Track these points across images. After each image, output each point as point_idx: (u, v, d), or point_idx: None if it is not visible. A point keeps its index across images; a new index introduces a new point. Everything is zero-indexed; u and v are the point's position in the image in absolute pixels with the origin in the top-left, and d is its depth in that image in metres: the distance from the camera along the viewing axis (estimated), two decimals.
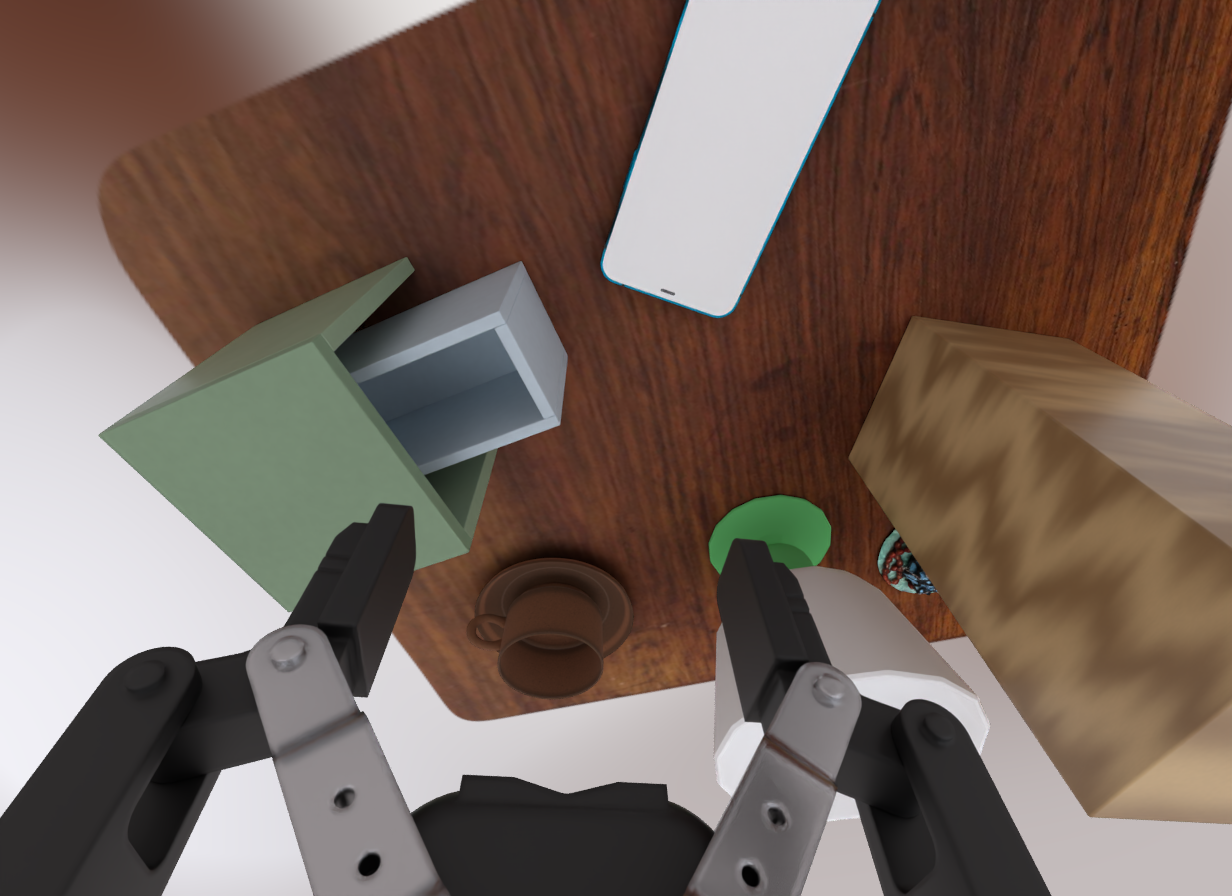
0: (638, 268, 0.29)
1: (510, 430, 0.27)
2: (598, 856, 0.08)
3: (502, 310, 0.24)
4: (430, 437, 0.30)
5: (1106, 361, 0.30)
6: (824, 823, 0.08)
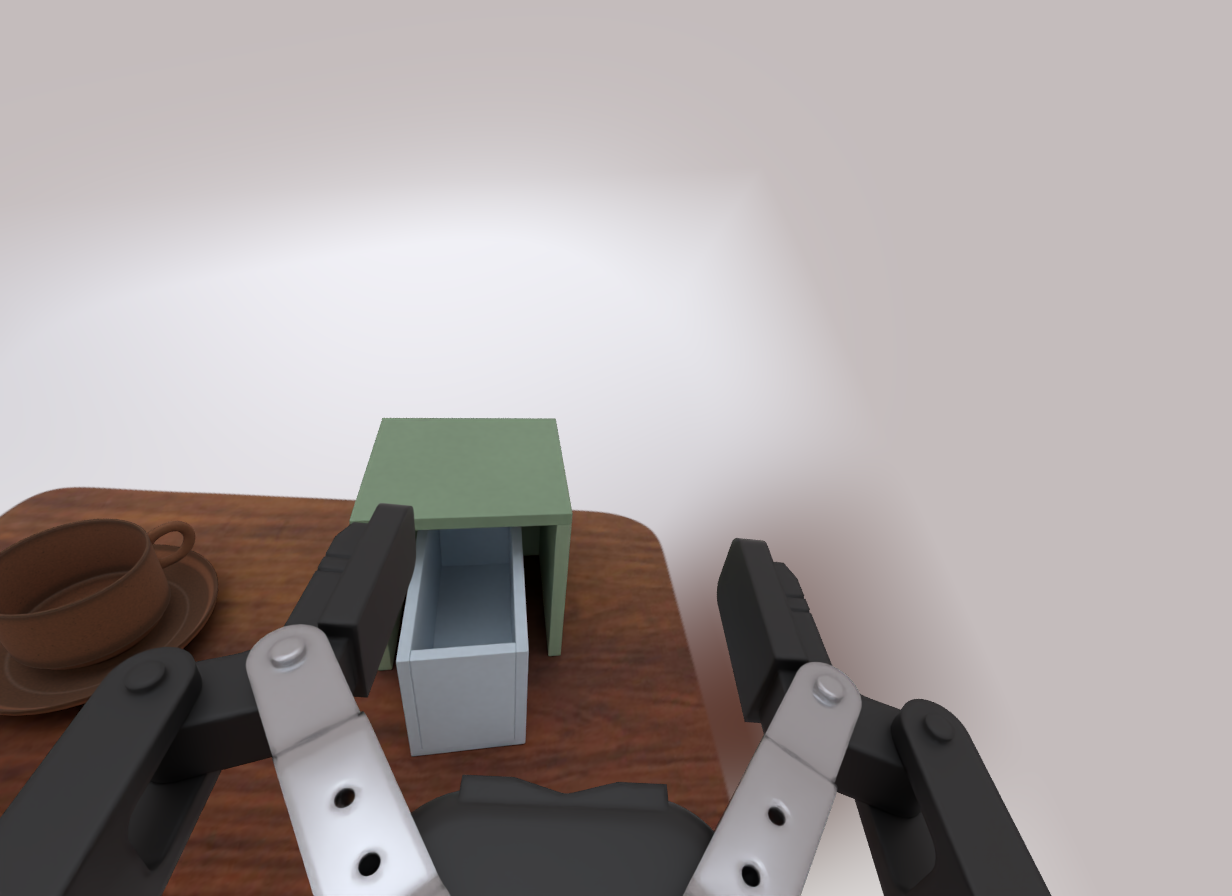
0: None
1: (415, 621, 0.28)
2: (598, 856, 0.08)
3: (525, 656, 0.27)
4: (429, 581, 0.33)
5: None
6: (824, 823, 0.08)
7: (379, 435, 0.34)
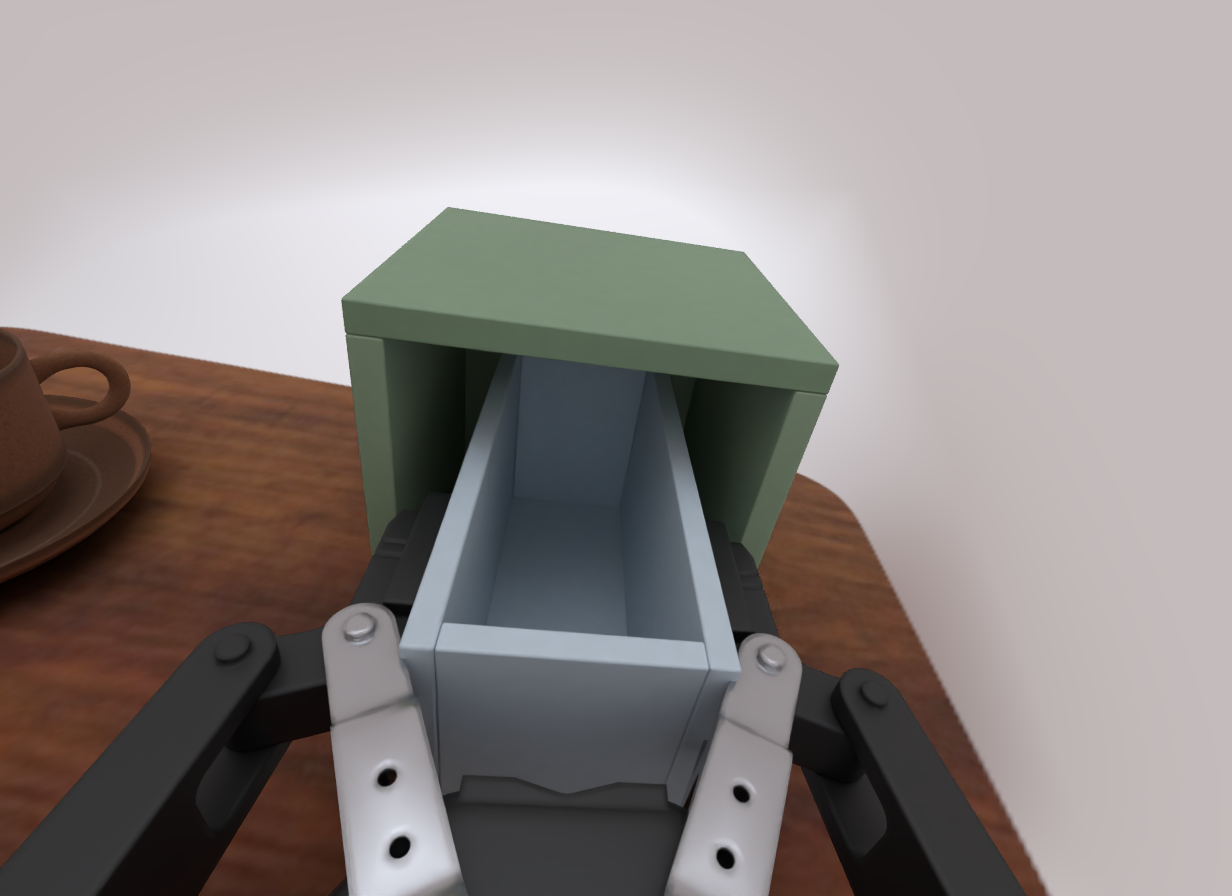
0: None
1: (461, 557, 0.11)
2: (598, 856, 0.08)
3: None
4: (495, 498, 0.17)
5: None
6: (784, 790, 0.08)
7: (437, 219, 0.18)
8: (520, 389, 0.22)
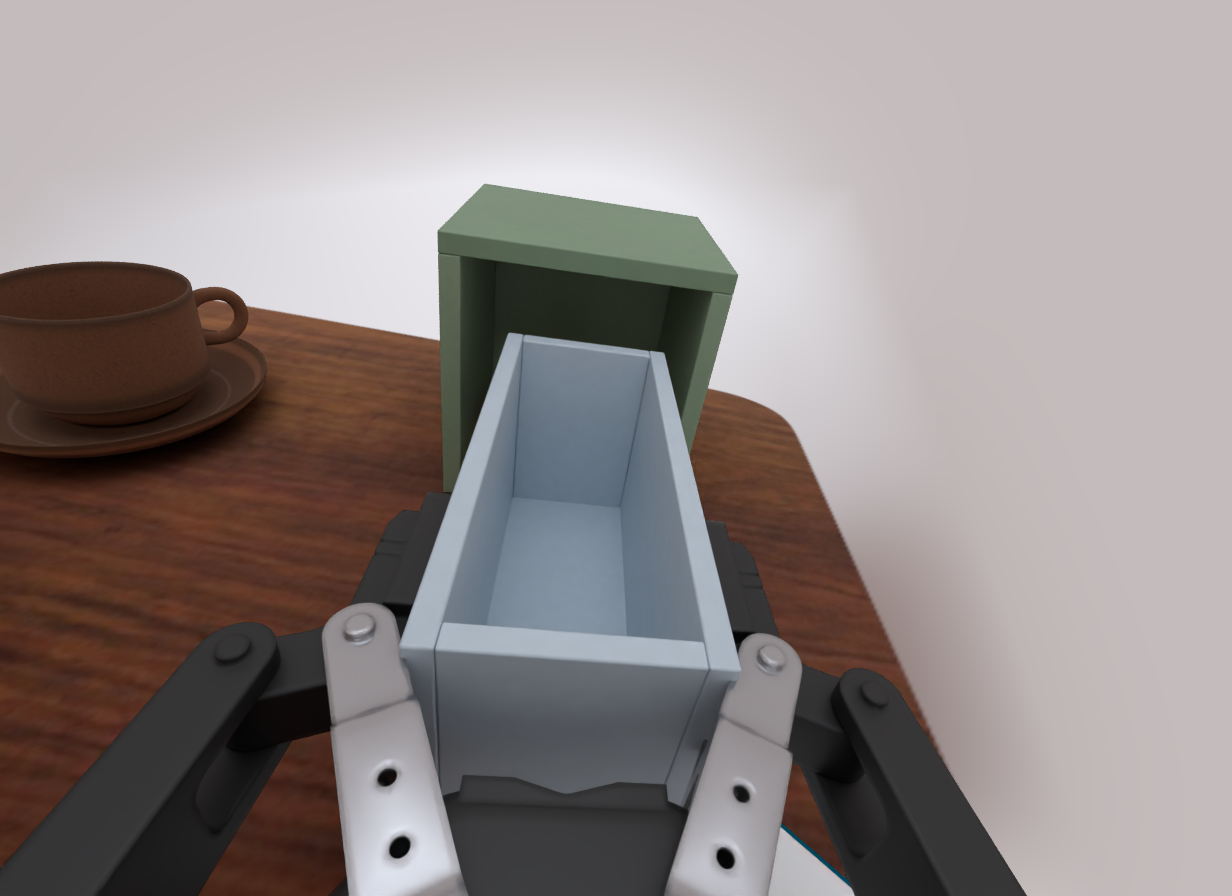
0: None
1: (462, 556, 0.11)
2: (598, 856, 0.08)
3: None
4: (495, 498, 0.17)
5: None
6: (785, 790, 0.08)
7: (480, 191, 0.26)
8: (520, 389, 0.22)
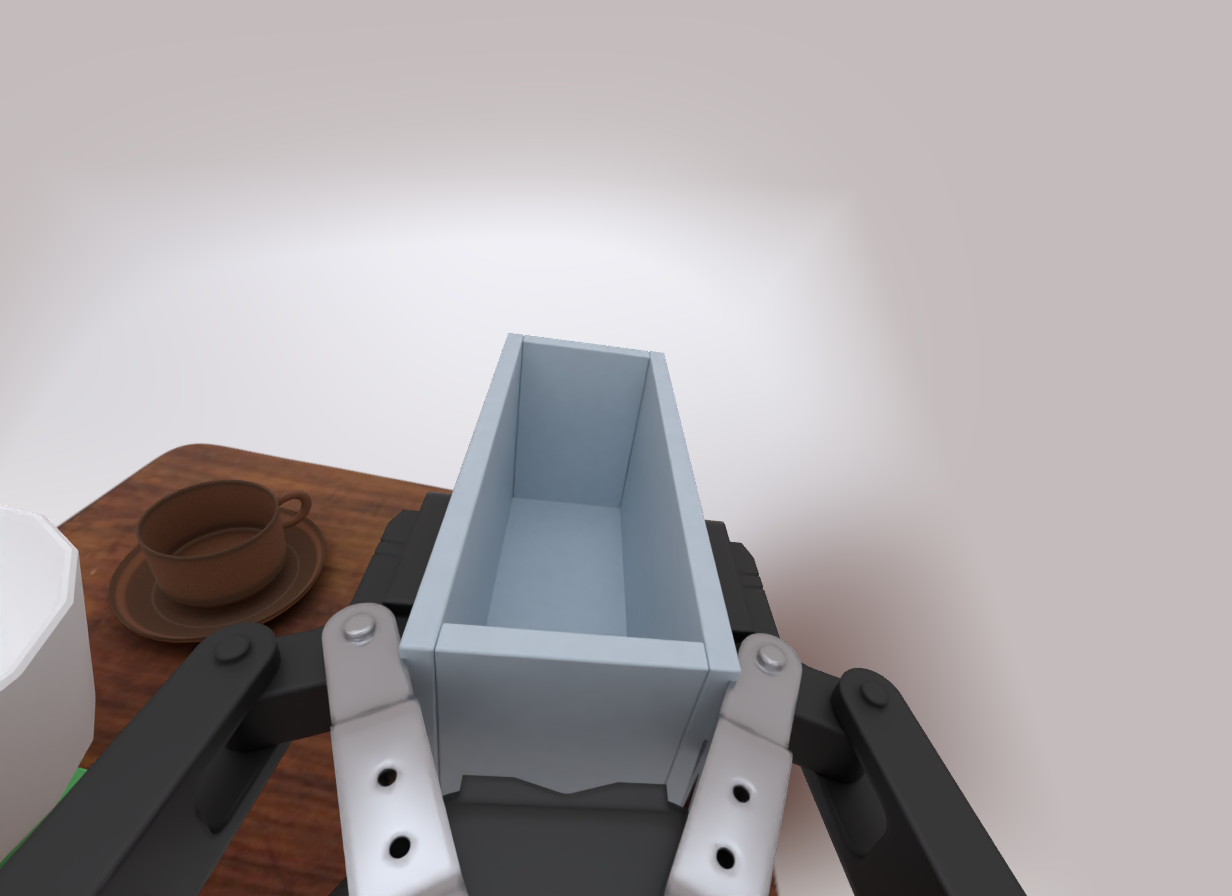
0: None
1: (461, 557, 0.11)
2: (598, 856, 0.08)
3: None
4: (495, 498, 0.17)
5: None
6: (784, 790, 0.08)
7: None
8: (520, 389, 0.22)
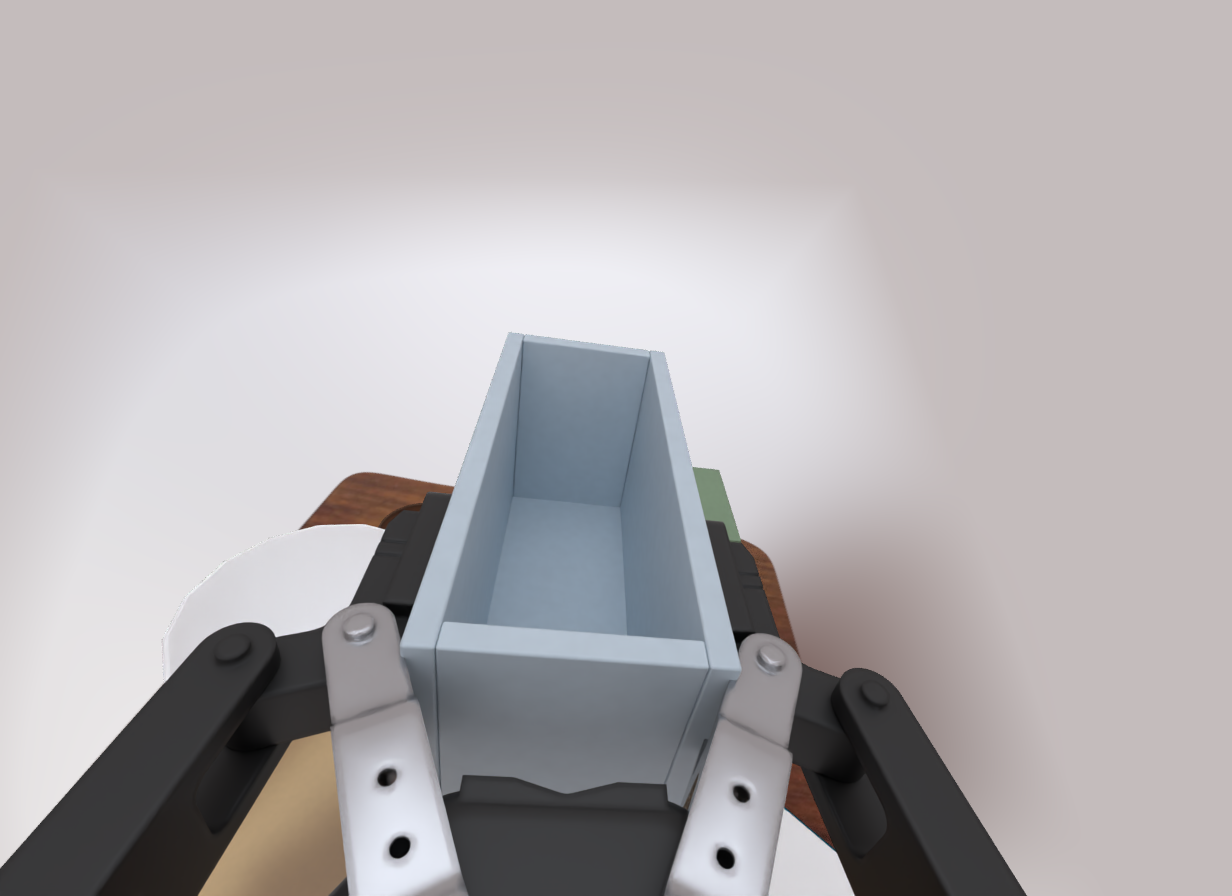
0: None
1: (462, 555, 0.11)
2: (598, 856, 0.08)
3: None
4: (495, 498, 0.17)
5: None
6: (785, 790, 0.08)
7: None
8: (520, 389, 0.22)
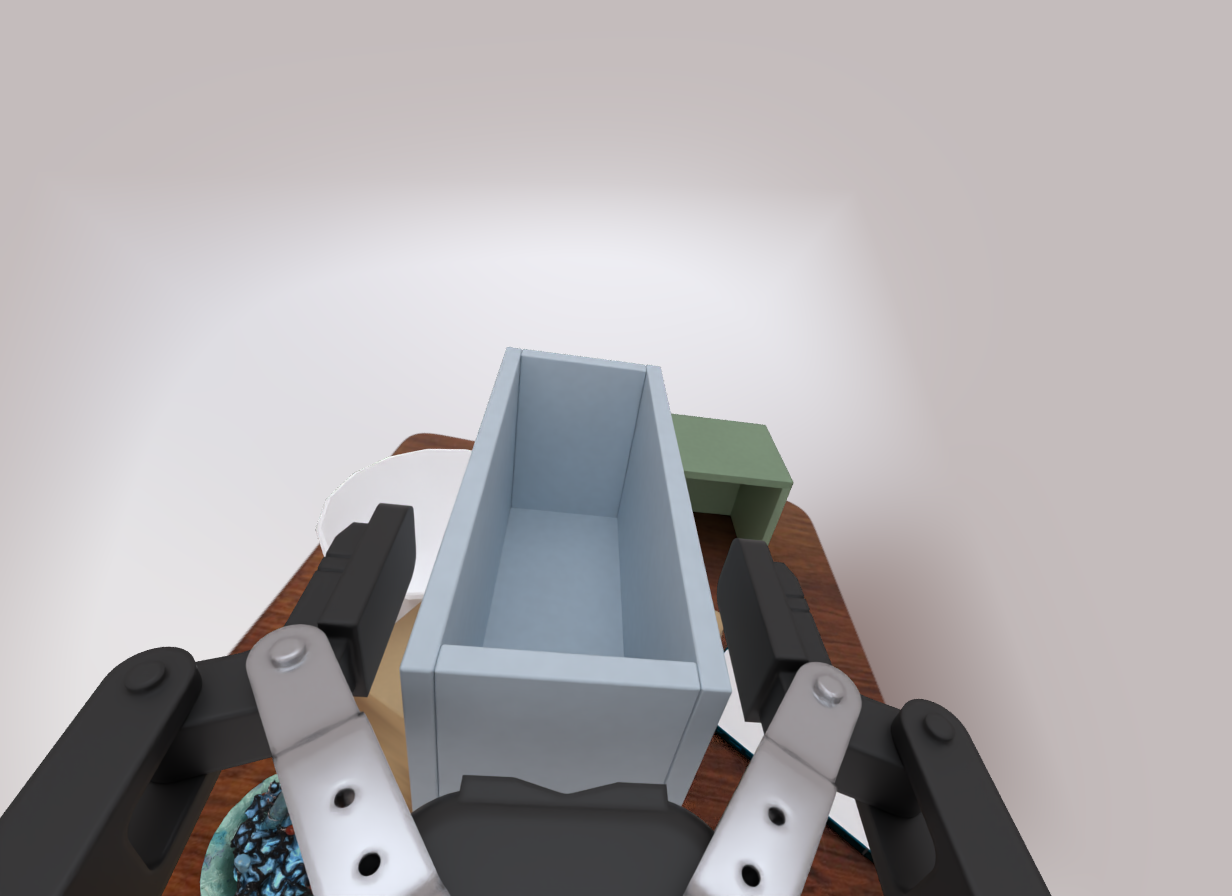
0: None
1: (460, 577, 0.12)
2: (598, 856, 0.08)
3: (720, 704, 0.11)
4: (493, 513, 0.17)
5: None
6: (823, 823, 0.08)
7: None
8: (518, 402, 0.22)
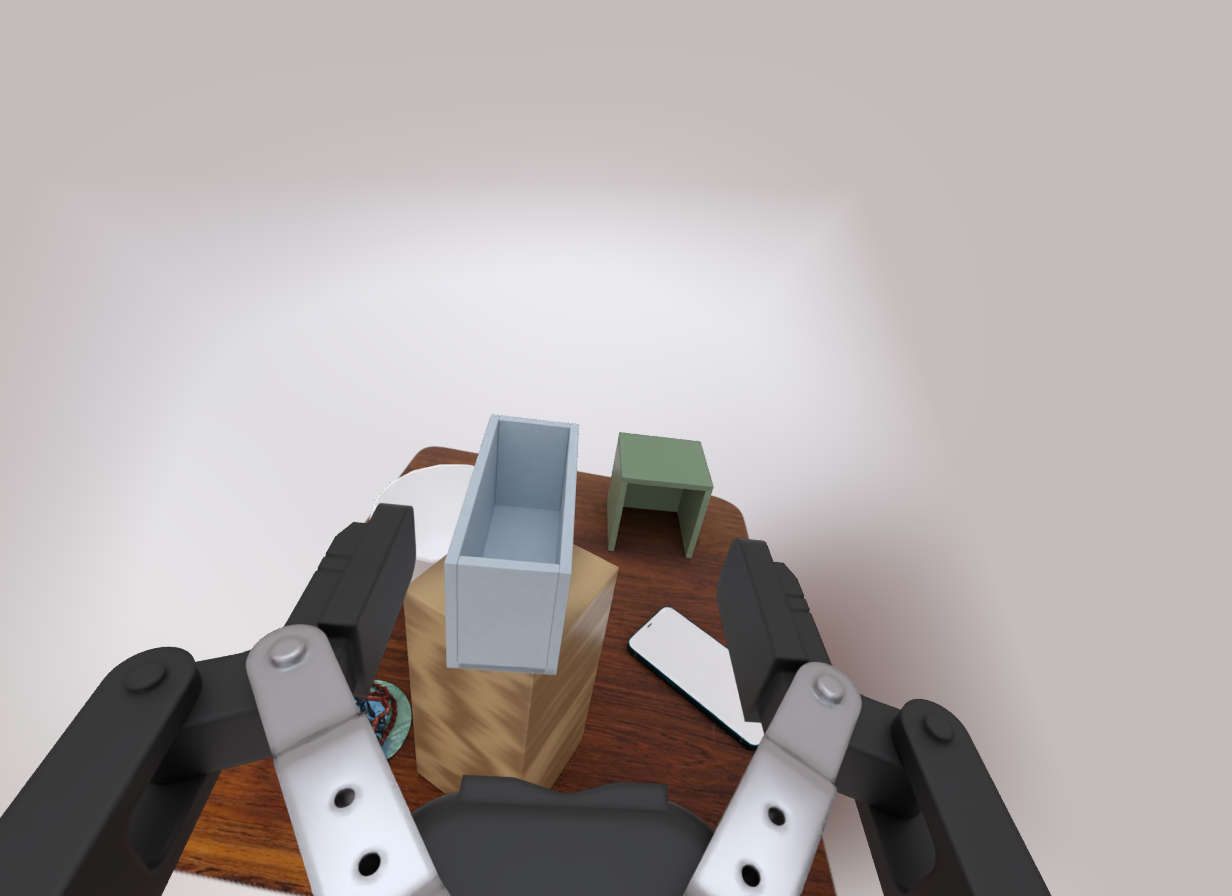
0: (664, 618, 0.63)
1: (466, 532, 0.28)
2: (598, 856, 0.08)
3: (567, 579, 0.27)
4: (482, 507, 0.34)
5: None
6: (823, 823, 0.08)
7: (621, 440, 0.72)
8: (498, 444, 0.39)
